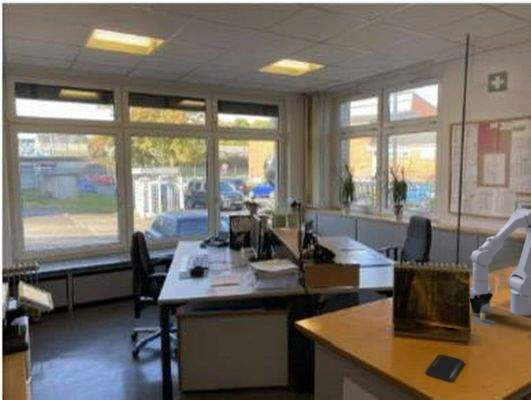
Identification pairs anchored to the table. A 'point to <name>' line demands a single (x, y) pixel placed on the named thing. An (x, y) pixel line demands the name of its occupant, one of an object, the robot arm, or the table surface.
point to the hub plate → (487, 322)
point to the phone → (444, 367)
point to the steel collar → (483, 308)
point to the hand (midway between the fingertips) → (479, 311)
